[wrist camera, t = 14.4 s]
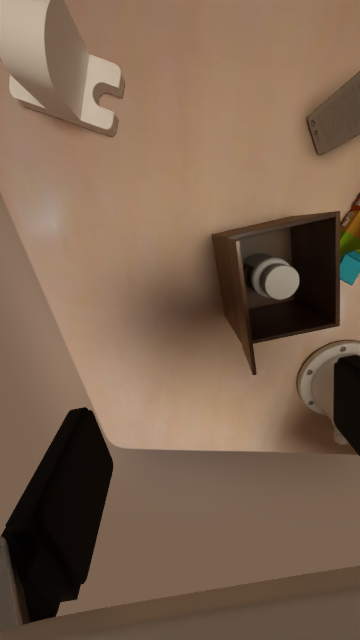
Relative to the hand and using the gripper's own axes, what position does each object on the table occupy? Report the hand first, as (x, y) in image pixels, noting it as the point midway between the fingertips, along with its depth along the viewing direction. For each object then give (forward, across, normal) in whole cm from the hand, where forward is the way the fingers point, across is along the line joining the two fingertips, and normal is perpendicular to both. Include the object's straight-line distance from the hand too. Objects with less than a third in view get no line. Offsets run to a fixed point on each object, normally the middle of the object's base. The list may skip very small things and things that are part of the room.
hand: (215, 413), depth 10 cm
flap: (+12, -4, 0) cm, 13 cm away
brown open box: (+24, -9, 0) cm, 26 cm away
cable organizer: (+25, +7, -22) cm, 34 cm away
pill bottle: (+24, -10, 0) cm, 26 cm away
